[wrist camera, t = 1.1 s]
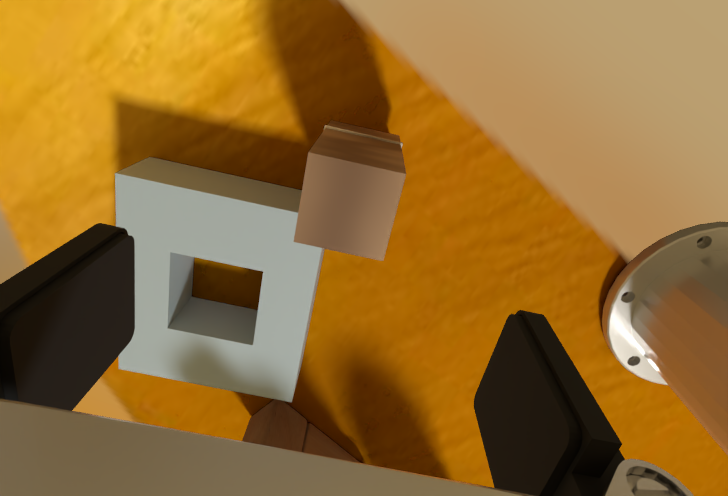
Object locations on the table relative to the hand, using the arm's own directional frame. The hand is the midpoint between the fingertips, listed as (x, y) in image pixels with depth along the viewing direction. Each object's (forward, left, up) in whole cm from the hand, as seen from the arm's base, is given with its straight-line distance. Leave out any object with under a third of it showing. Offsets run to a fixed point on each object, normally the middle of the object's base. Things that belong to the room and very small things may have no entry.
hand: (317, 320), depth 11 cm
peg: (0, 0, -18) cm, 18 cm away
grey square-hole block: (+7, +10, -18) cm, 22 cm away
